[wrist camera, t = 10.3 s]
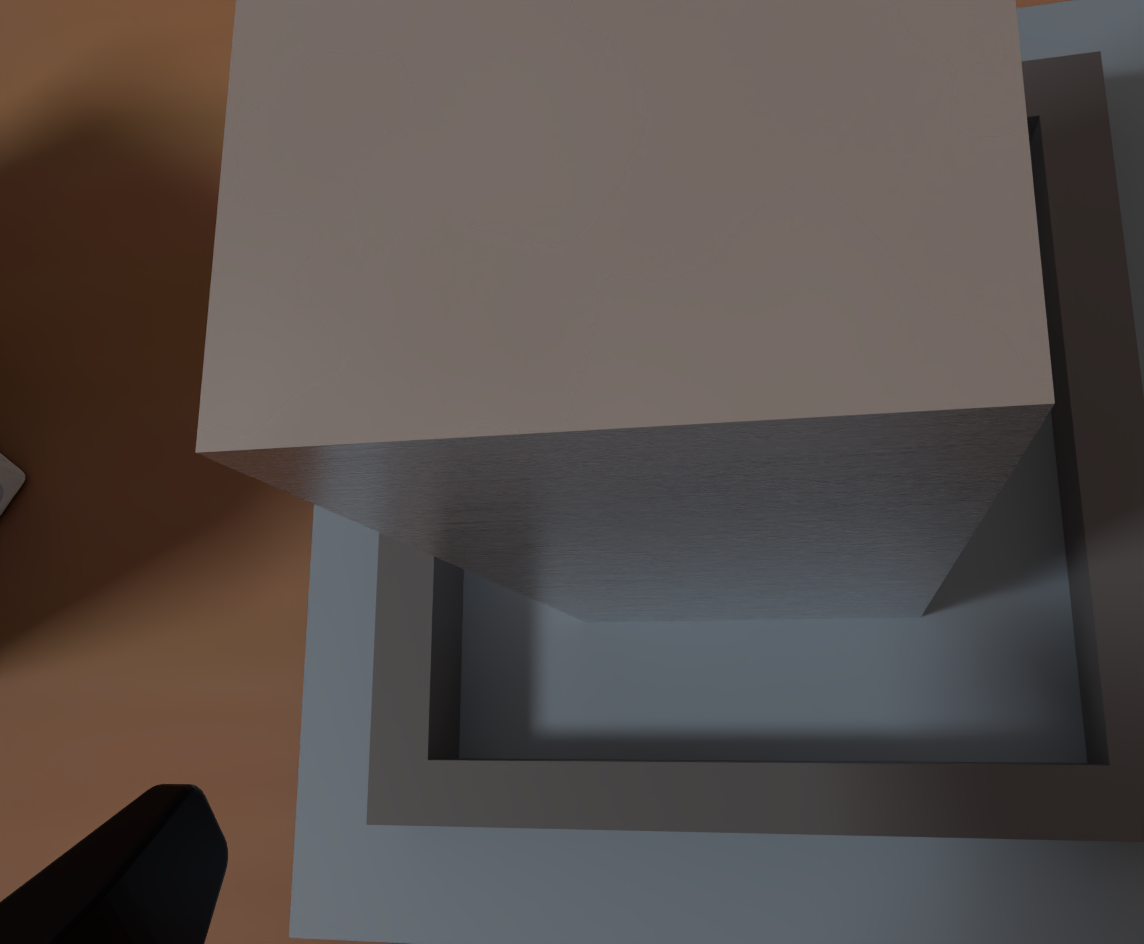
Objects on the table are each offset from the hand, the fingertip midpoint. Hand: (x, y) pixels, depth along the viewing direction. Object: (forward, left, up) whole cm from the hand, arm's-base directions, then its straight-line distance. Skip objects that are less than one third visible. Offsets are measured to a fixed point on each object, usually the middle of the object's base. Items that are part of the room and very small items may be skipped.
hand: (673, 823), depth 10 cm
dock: (+5, -2, -10) cm, 11 cm away
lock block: (+5, -2, -9) cm, 10 cm away
